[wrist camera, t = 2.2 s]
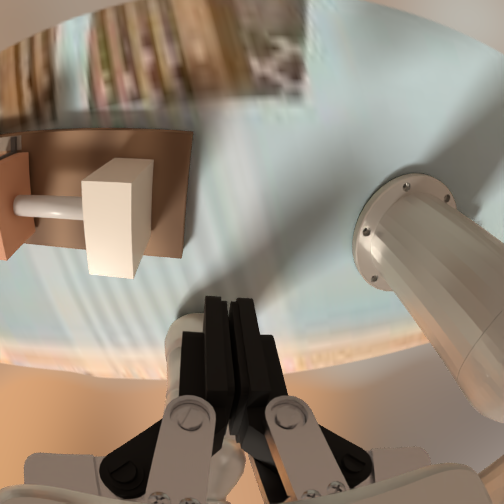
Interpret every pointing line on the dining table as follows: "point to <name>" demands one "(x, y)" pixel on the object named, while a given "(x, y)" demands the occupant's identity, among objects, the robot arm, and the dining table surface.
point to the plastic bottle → (230, 455)
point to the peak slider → (3, 194)
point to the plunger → (105, 214)
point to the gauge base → (95, 156)
